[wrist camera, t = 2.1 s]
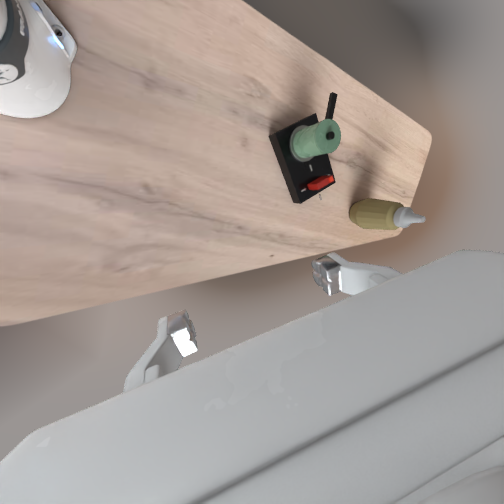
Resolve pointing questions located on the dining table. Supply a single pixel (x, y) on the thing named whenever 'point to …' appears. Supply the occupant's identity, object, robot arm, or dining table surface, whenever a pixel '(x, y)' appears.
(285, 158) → the hob
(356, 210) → the squeeze bottle
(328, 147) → the saucepan
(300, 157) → the burner
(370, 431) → the robot arm
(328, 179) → the knob
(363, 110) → the dining table surface
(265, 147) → the dining table surface
